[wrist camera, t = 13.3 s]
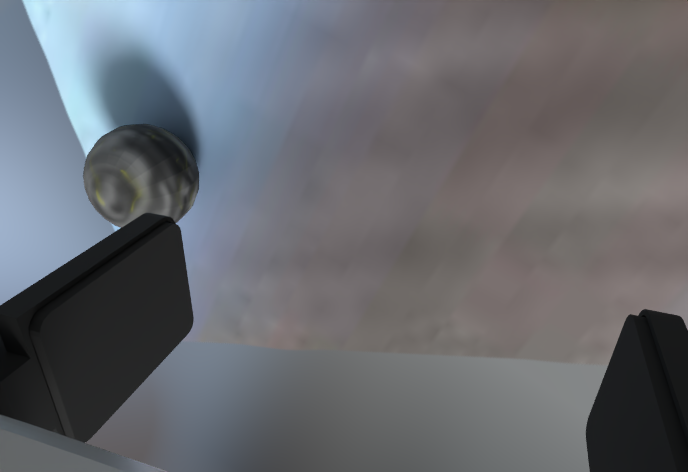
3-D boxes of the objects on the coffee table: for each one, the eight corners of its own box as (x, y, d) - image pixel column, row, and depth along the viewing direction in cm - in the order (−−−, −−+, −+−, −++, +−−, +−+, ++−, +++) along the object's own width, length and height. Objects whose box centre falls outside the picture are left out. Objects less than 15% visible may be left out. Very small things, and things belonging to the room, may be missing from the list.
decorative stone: (213, 116, 47) (144, 149, 39) (224, 212, 52) (165, 260, 44) (124, 107, 50) (42, 136, 41) (142, 199, 55) (72, 241, 46)
